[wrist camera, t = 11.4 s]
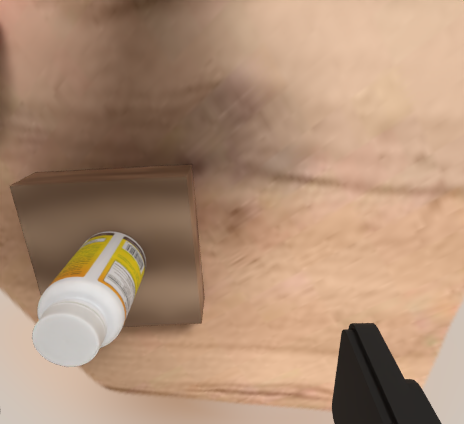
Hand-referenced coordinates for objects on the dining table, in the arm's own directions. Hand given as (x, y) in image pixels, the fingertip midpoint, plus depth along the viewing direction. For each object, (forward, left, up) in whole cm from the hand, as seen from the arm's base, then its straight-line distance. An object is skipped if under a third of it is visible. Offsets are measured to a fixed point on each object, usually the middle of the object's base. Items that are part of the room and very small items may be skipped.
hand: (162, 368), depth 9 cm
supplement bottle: (+7, -9, -21) cm, 23 cm away
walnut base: (+8, -9, -24) cm, 27 cm away
